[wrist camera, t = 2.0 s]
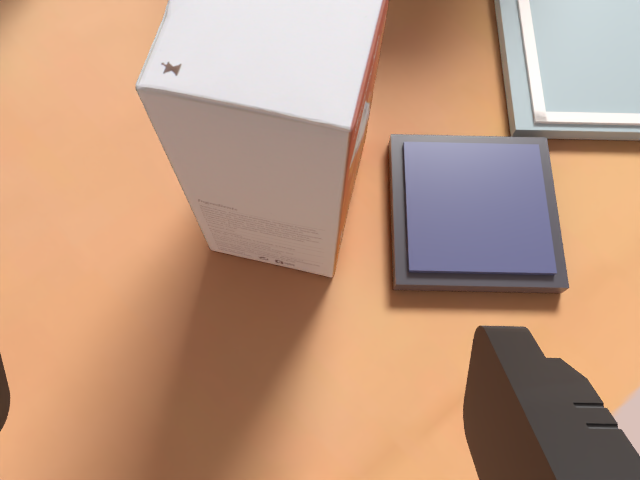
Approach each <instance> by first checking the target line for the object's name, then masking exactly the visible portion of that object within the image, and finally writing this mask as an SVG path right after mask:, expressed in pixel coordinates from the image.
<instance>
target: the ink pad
mask: <svg viewBox="0 0 640 480" xmlns="http://www.w3.org/2000/svg"><path fill="white" fill-rule="evenodd" d="M389 172H390V204H391V237H392V269H393V290H421V291H472V292H523V293H562V292H564V291H565V290H567V289H568V288H569V284H568V277H567V270H566V263H565V257H564V250H563V243H562V236H561V230H560V223H559V216H558V209H557V203H556V196H555V189H554V182H553V176H552V169H551V162H550V155H549V149H548V142H547V138H544V137H497V136H450V135H403V134H391V136H390V140H389Z"/></svg>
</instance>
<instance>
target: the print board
mask: <svg viewBox="0 0 640 480" xmlns="http://www.w3.org/2000/svg"><path fill="white" fill-rule="evenodd" d="M494 3H495V11H496V19H497V28H498V36H499V44H500V52H501V61H502V69H503V77H504V85H505V93H506V102H507V110H508V118H509V126H510V135H511V137H544V138H547V139H591V140H638V141H640V0H494Z"/></svg>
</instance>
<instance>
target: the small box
mask: <svg viewBox="0 0 640 480" xmlns="http://www.w3.org/2000/svg"><path fill="white" fill-rule="evenodd" d="M388 4H389V0H169V1H168V4H167V6H166V10H165V14H164V17H163V19H162V22H161V24H160V27H159V29H158V32H157V34H156V37H155V39H154V41H153V44H152V46H151V49H150V51H149V54H148V56H147V59H146V61H145V63H144V66H143V68H142V71H141V73H140V75H139V78H138V80H137V83H136V91H137V93H138V95H139V97H140V99H141V101H142V103H143V105H144V107H145V110H146V112H147V114H148V116H149V119H150V121H151V123H152V125H153V127H154V129H155V131H156V134H157V136H158V138H159V140H160V142H161V144H162V146H163V149H164V151H165V153H166V155H167V157H168V159H169V161H170V164H171V166H172V168H173V170H174V172H175V174H176V176H177V179H178V181H179V183H180V185H181V187H182V189H183V191H184V194H185V196H186V198H187V200H188V202H189V204H190V207H191V209H192V211H193V213H194V215H195V217H196V219H197V222H198V224H199V226H200V228H201V230H202V233H203V235H204V237H205V239H206V241H207V243H208V246H209V248H210V249H211V250H213V251H217V252H222V253H226V254H230V255H235V256H239V257H243V258H248V259H252V260H257V261H261V262H266V263H270V264H275V265H279V266H284V267H288V268H293V269H297V270H302V271H306V272H310V273H314V274H318V275H323V276H327V277H333V276H334V274H335V269H336V264H337V259H338V253H339V249H340V244H341V240H342V235H343V231H344V226H345V222H346V218H347V213H348V209H349V204H350V200H351V195H352V191H353V187H354V183H355V179H356V175H357V171H358V166H359V162H360V158H361V154H362V150H363V146H364V143H365V138H366V133H367V126H368V120H369V114H370V108H371V102H372V96H373V89H374V83H375V78H376V73H377V68H378V62H379V56H380V49H381V44H382V39H383V33H384V28H385V23H386V16H387V10H388Z"/></svg>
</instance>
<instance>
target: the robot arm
mask: <svg viewBox="0 0 640 480" xmlns="http://www.w3.org/2000/svg"><path fill="white" fill-rule="evenodd" d="M603 404H604V403H603V402H602V400H601V399H600V397H599V396H598V394H597V393H596V391H595V390H594V388H593V387H592V385H591V384H590V382H589V381H588V380H587V378H585V377H584V376H583V375H581V374H580V373H579V372H577V371H576V370H575V369H574V368H572V367H571V366H570V365H568V364H567V363H566V362H564V361H563V360H562V359H561V358H546V357H545V356H544V354H543V352H542V351H541V349H540V347H539V346H538V344H537V343H536V341H535V339H534V338H533V336H532V334H531V333H530V331H529V330H528V329H527V328H526V327H514V326H479V327H477V329H476V331H475V334H474V339H473V345H472V351H471V358H470V364H469V371H468V377H467V384H466V390H465V397H464V405H463V419H464V429H465V435H466V439H467V443H468V446H469V449H470V452H471V455H472V459H473V462H474V465H475V468H476V471H477V474H478V477H479V480H640V456H639V454H638V453H637V452H636V450H635V449H634V447H633V446H632V444H631V443H630V441H629V440H628V438H627V437H626V436H625V434H624V432H623V431H622V430H621V429H618V426H617V425H618V424H617V422H616V421H615V419H614V418H613V416H612V415H611V413H610V412H609V410H608V409H607V408H604V406H603ZM9 406H10V391H9V387H8V383H7V378H6V374H5V370H4V366H3V362H2V358H1V354H0V431H1V429H2V428H3V426H4V424H5V421H6V419H7V416H8V412H9Z"/></svg>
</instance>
